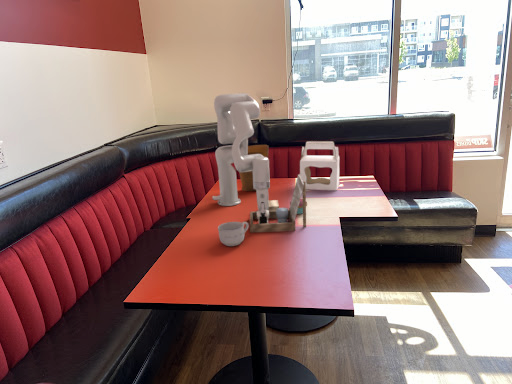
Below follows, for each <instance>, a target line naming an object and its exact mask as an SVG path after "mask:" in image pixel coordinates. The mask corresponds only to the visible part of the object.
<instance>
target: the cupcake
mask: <svg viewBox="0 0 512 384" xmlns="http://www.w3.org/2000/svg"><path fill="white" fill-rule="evenodd" d="M290 205H291V201H290V202H289V206H290ZM307 206H308V202H307V200H306V207H307ZM296 215H303V198H301V199H300V203H299V206H298V210H297V214H296Z"/></svg>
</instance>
